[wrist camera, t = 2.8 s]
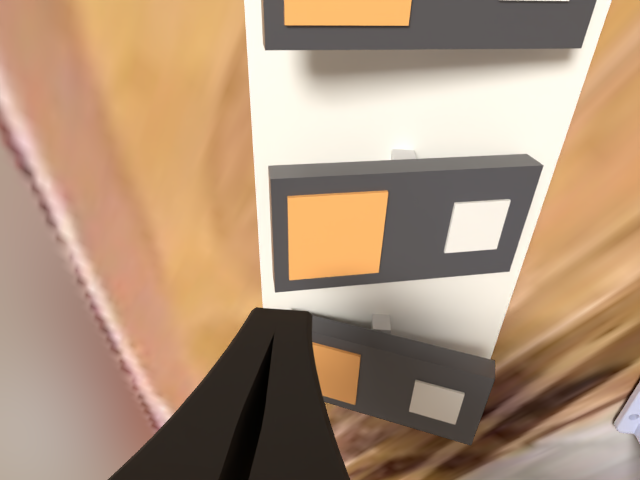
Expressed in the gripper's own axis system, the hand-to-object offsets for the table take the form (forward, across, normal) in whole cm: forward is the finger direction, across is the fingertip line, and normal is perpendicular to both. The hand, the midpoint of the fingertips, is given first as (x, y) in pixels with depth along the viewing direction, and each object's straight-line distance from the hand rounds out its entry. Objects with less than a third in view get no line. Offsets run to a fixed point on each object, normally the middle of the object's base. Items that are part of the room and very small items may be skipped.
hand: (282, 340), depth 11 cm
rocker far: (+6, -3, +8) cm, 11 cm away
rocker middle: (+6, -3, 0) cm, 7 cm away
